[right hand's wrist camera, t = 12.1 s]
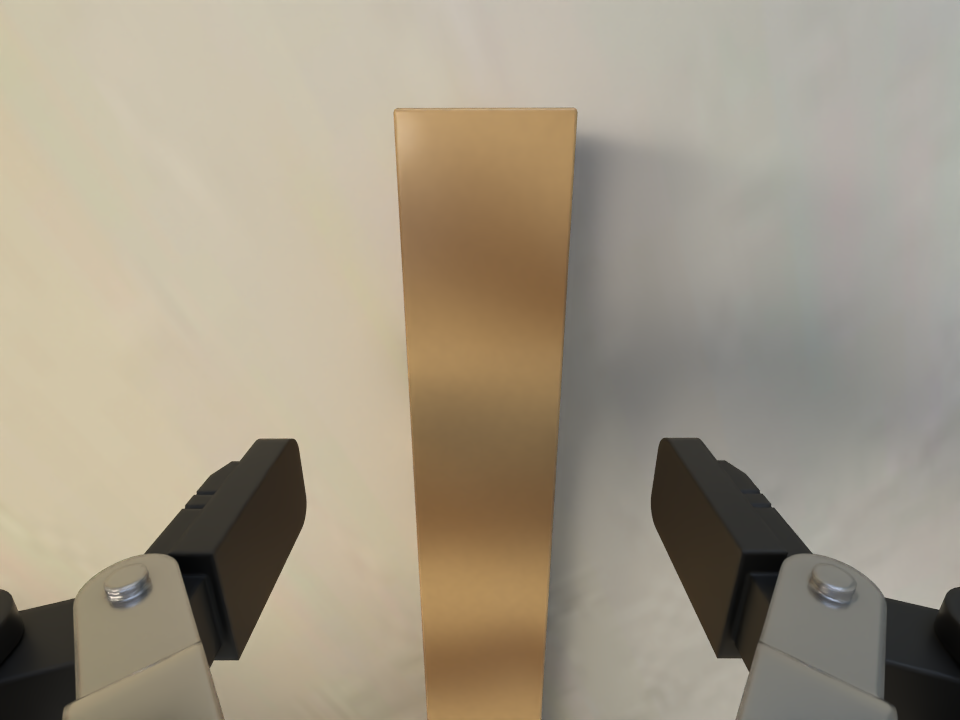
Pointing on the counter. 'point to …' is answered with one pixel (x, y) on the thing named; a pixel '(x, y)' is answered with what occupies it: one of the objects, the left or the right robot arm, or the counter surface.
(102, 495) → the counter surface
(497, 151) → the post
